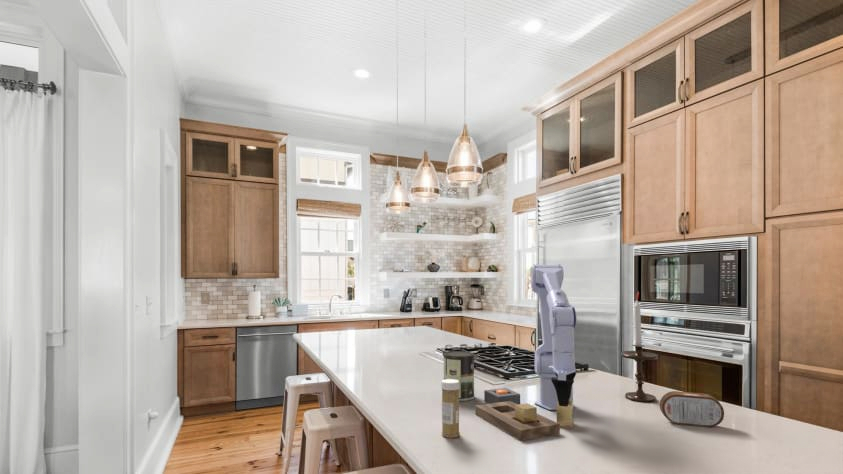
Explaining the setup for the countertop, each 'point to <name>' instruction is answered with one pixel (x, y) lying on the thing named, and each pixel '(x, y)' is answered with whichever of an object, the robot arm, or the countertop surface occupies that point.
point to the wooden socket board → (505, 420)
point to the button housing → (501, 396)
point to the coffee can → (460, 372)
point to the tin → (692, 409)
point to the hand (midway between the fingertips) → (564, 402)
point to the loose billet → (565, 415)
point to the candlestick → (639, 360)
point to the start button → (501, 392)
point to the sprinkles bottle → (450, 408)
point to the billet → (525, 413)
